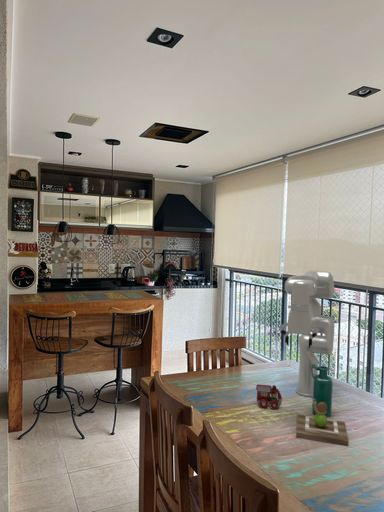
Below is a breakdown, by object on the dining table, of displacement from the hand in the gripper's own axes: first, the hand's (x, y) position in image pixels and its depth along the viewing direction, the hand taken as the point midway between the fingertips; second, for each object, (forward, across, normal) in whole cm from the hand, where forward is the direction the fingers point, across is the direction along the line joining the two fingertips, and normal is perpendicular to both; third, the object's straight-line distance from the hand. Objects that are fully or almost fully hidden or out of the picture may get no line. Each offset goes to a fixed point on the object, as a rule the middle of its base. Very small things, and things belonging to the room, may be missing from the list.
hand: (298, 345), depth 175 cm
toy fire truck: (+34, -13, +9) cm, 37 cm away
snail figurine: (+32, +10, -9) cm, 34 cm away
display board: (+33, +11, -9) cm, 36 cm away
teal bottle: (+34, +11, +11) cm, 37 cm away
